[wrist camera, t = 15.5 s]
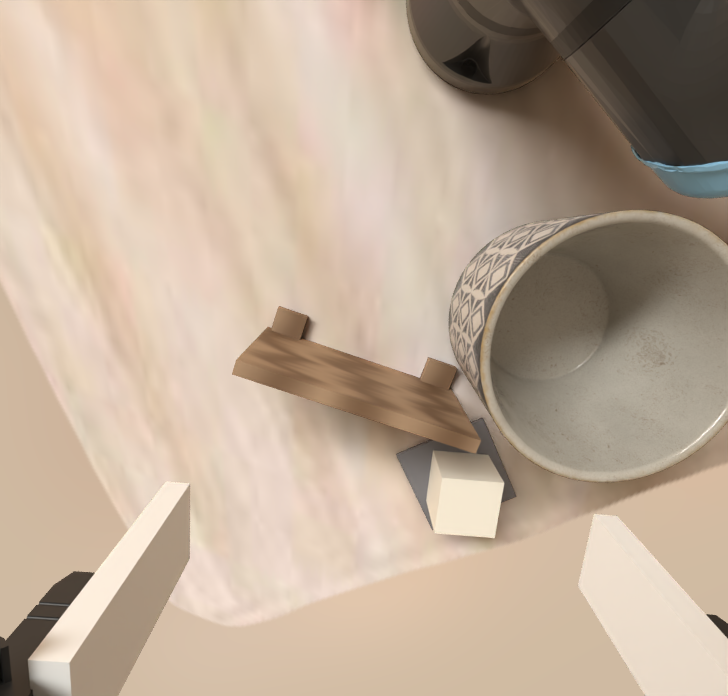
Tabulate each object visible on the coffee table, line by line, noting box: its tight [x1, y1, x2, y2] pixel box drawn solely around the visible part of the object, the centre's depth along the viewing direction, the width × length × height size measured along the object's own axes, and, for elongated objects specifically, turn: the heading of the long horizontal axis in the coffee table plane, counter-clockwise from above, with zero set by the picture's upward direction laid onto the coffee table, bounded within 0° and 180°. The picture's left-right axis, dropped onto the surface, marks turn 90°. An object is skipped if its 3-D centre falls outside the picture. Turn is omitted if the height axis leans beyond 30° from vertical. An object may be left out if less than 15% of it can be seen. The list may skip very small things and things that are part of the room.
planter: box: [449, 210, 728, 482], centre depth 41 cm, size 19×19×16 cm
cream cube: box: [426, 450, 504, 538], centre depth 50 cm, size 6×6×6 cm
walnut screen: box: [232, 306, 481, 454], centre depth 44 cm, size 20×6×13 cm, turn 71°
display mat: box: [396, 418, 516, 530], centre depth 53 cm, size 10×10×1 cm
